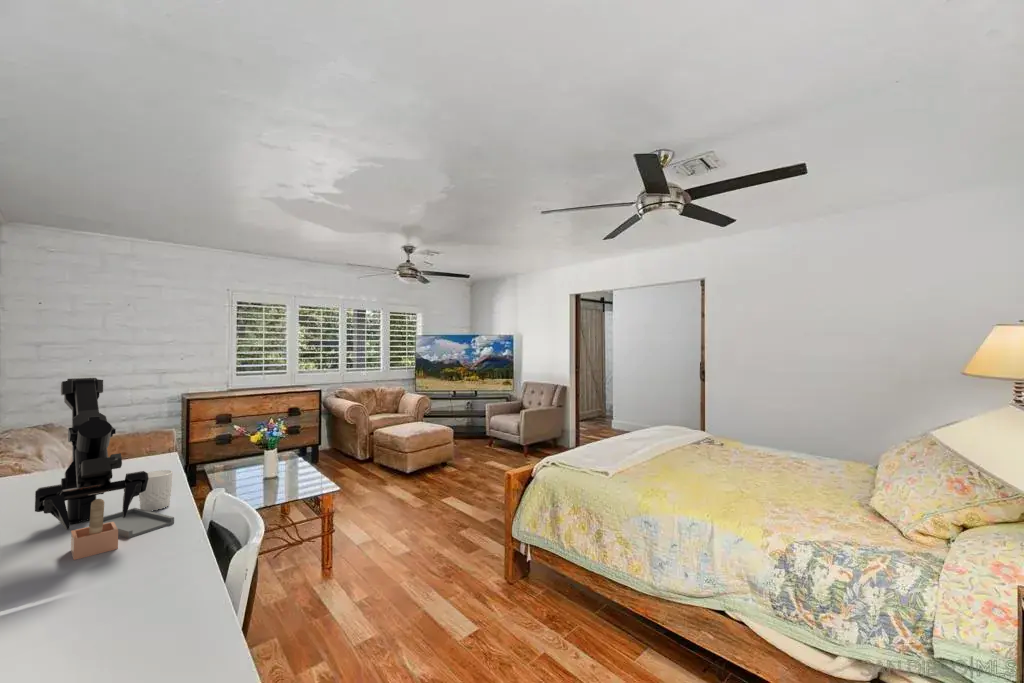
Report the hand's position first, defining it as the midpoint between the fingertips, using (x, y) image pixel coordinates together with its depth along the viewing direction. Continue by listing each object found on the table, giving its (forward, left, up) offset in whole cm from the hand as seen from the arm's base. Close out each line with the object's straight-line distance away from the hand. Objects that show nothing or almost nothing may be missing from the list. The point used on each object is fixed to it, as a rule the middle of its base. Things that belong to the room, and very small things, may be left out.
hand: (97, 522), depth 97 cm
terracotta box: (-4, +1, -8) cm, 9 cm away
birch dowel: (-2, +1, -7) cm, 7 cm away
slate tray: (-13, +13, -8) cm, 20 cm away
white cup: (-24, +24, -8) cm, 35 cm away
